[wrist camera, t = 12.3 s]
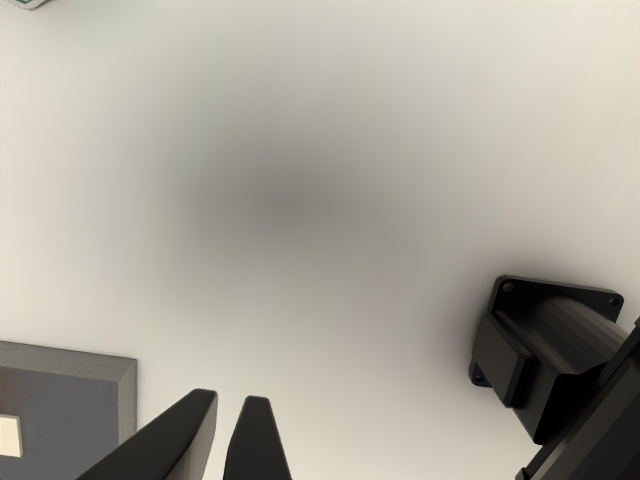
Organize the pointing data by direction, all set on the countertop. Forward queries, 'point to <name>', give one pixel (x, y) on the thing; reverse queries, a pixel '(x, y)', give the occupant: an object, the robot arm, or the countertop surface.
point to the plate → (61, 410)
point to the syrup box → (26, 3)
